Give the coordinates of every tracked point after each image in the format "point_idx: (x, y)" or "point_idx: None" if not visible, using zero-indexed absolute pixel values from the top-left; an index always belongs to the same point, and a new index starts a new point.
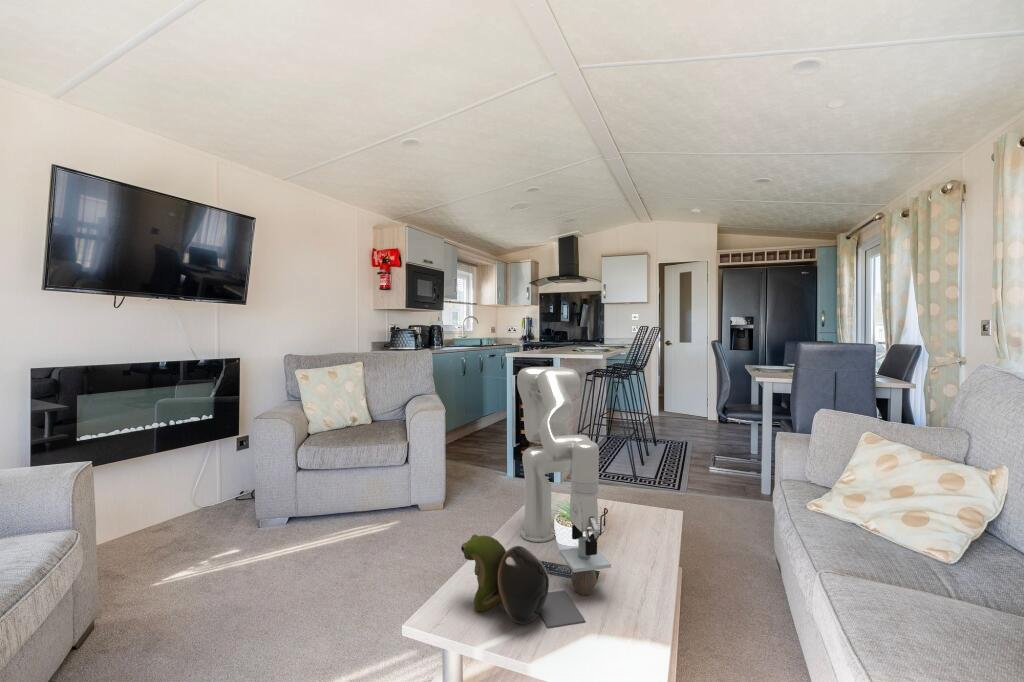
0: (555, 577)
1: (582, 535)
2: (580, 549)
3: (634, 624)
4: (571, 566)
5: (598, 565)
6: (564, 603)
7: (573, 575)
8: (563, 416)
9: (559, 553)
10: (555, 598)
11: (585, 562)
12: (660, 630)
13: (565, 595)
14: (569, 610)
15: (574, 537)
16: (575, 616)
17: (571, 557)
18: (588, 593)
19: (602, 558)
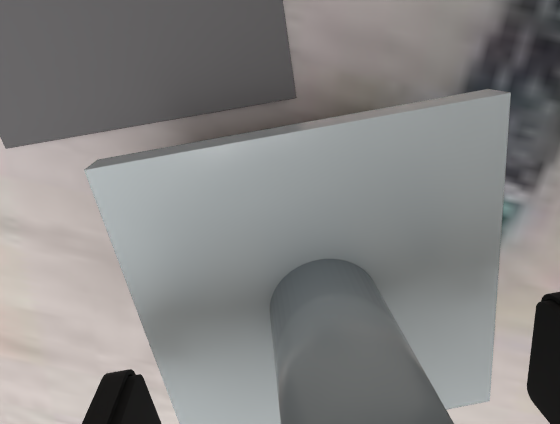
0: (448, 63)
1: (551, 421)
2: (306, 326)
3: (34, 346)
4: (135, 159)
5: (166, 382)
6: (159, 62)
7: None
8: None
9: (478, 91)
10: (210, 13)
11: (219, 299)
12: (11, 416)
13: (241, 85)
14: (89, 79)
15: (553, 326)
16: (35, 102)
17: (323, 193)
18: None
19: (280, 422)
